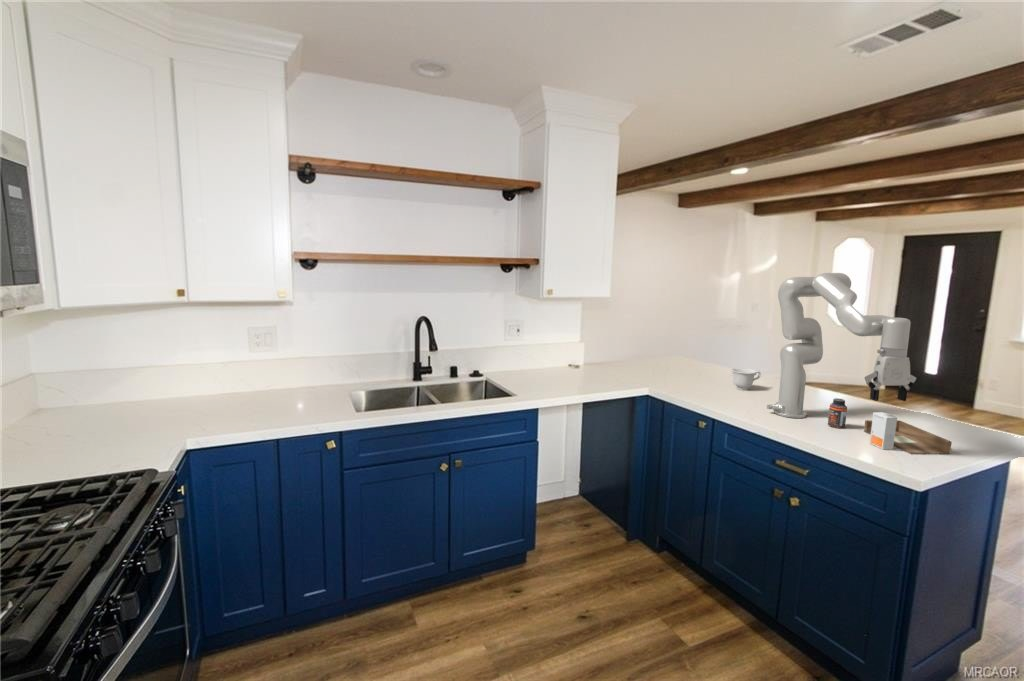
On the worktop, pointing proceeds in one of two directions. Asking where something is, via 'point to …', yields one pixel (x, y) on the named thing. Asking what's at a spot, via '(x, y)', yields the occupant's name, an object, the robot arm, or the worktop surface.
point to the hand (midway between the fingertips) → (887, 400)
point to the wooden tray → (915, 439)
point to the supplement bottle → (837, 413)
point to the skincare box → (883, 430)
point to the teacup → (744, 377)
